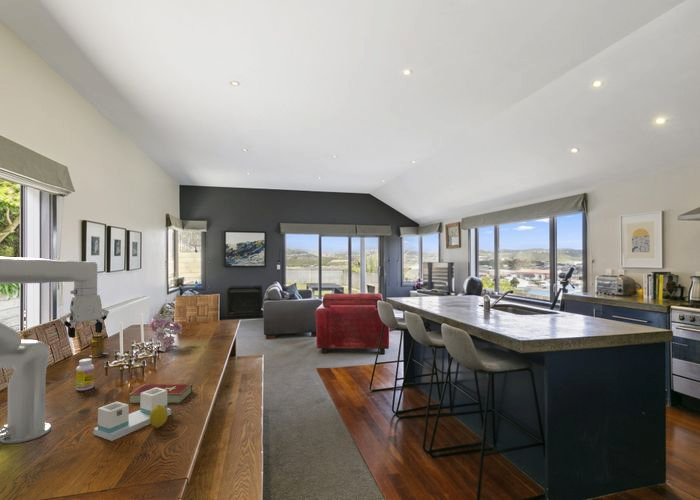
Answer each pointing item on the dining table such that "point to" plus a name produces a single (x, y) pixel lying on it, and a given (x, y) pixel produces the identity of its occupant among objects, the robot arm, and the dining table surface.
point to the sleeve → (113, 417)
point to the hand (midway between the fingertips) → (85, 334)
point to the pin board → (135, 423)
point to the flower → (160, 325)
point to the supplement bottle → (85, 375)
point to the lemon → (158, 416)
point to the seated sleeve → (152, 399)
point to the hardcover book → (173, 390)
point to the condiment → (97, 346)
